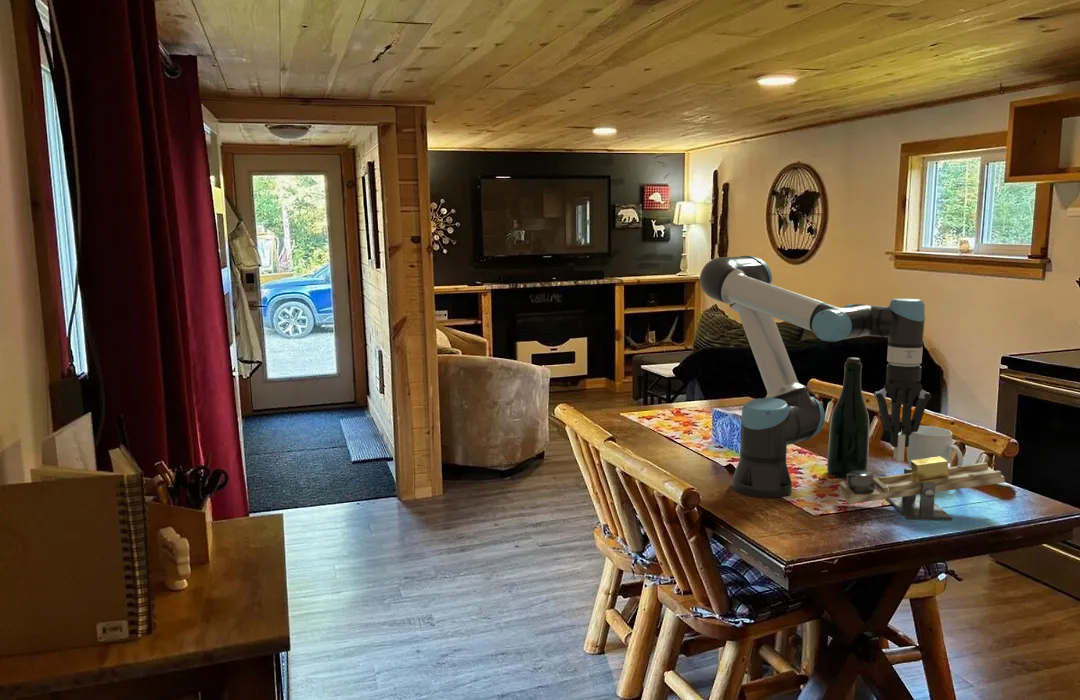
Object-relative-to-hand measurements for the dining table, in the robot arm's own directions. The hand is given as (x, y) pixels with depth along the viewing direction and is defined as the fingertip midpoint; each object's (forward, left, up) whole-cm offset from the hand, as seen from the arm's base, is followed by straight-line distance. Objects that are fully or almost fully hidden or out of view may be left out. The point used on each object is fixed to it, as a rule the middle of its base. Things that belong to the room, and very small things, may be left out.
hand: (898, 459), depth 188 cm
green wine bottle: (-4, +26, -13) cm, 29 cm away
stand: (+5, 0, -12) cm, 13 cm away
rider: (+8, 0, -5) cm, 10 cm away
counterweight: (-8, 0, -8) cm, 11 cm away
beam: (+5, 0, -6) cm, 8 cm away
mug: (+18, +25, -13) cm, 34 cm away
